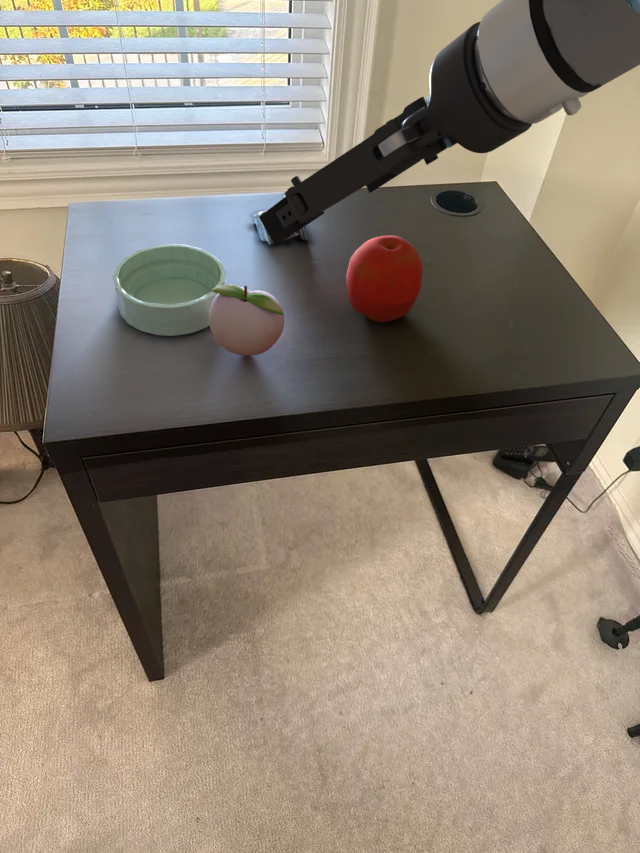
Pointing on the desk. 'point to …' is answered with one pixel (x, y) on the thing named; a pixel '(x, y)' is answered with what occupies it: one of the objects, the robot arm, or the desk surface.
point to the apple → (384, 278)
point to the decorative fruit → (245, 319)
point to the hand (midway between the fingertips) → (320, 203)
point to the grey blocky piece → (264, 233)
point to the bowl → (168, 288)
